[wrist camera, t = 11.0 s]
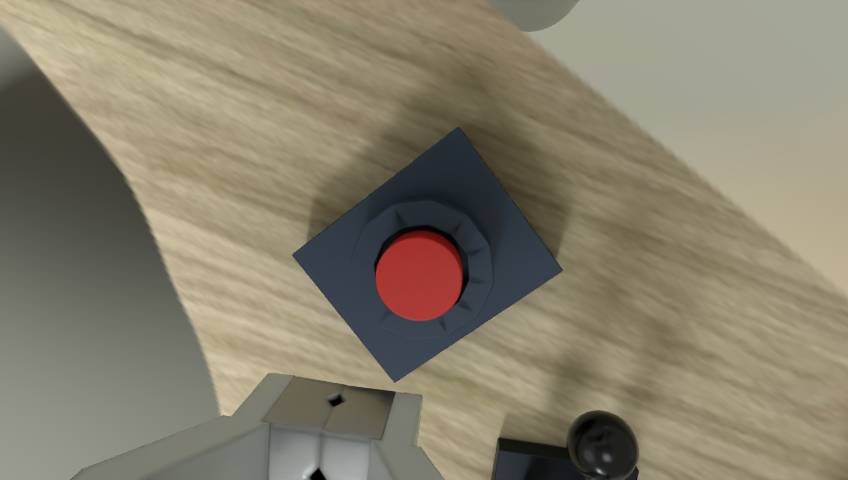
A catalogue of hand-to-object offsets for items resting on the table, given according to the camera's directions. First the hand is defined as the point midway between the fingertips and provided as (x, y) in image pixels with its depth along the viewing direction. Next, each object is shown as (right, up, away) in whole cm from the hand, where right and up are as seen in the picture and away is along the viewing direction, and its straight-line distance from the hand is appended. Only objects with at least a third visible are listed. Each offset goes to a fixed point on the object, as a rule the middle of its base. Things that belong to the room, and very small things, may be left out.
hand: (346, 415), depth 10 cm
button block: (+2, +3, +18) cm, 19 cm away
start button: (+1, +2, +15) cm, 15 cm away
